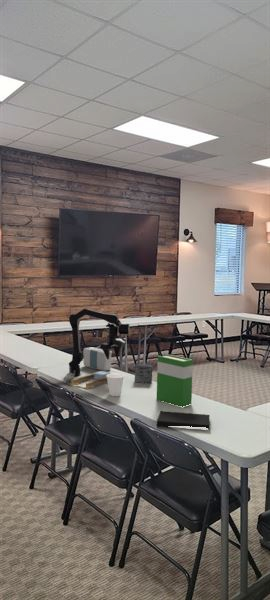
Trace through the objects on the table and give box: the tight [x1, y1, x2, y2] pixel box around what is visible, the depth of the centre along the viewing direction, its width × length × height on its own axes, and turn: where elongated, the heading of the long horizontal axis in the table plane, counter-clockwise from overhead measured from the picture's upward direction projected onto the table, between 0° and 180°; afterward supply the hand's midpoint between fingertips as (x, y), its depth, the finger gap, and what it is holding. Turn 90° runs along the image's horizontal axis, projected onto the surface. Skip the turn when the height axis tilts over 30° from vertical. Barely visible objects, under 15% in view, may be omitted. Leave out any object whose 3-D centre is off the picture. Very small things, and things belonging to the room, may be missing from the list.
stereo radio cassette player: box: [82, 345, 113, 372], centre depth 307 cm, size 21×8×20 cm, turn 49°
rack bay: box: [69, 372, 108, 390], centre depth 270 cm, size 13×25×3 cm, turn 146°
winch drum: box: [65, 371, 76, 384], centre depth 270 cm, size 6×4×8 cm
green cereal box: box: [156, 353, 194, 407], centre depth 235 cm, size 18×7×24 cm, turn 45°
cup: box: [106, 372, 125, 397], centre depth 246 cm, size 10×10×11 cm
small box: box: [133, 363, 153, 384], centre depth 275 cm, size 11×6×10 cm, turn 84°
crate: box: [93, 370, 111, 381], centre depth 278 cm, size 7×7×5 cm
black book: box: [156, 410, 210, 429], centre depth 205 cm, size 14×23×3 cm, turn 80°
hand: (112, 358), depth 284 cm, fingers open, 9 cm apart
